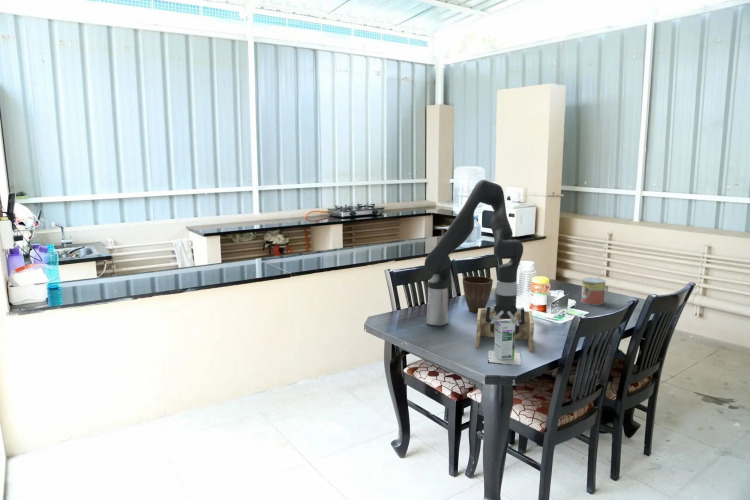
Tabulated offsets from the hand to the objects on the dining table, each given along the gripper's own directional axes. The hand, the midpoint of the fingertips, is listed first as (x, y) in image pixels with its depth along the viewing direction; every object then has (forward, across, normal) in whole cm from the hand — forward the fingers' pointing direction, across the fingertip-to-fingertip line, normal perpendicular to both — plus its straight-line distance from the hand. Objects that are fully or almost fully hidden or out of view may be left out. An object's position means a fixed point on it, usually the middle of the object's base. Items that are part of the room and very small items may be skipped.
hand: (504, 333), depth 199 cm
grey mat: (+10, 0, 0) cm, 10 cm away
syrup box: (+10, 0, 0) cm, 10 cm away
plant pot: (+11, +13, -62) cm, 64 cm away
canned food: (+10, -46, -90) cm, 102 cm away
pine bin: (+10, 0, -17) cm, 20 cm away
